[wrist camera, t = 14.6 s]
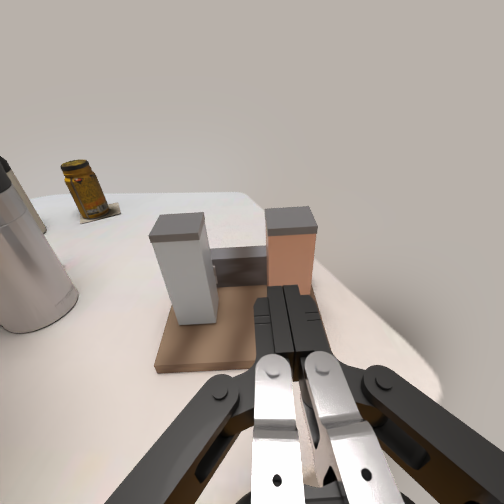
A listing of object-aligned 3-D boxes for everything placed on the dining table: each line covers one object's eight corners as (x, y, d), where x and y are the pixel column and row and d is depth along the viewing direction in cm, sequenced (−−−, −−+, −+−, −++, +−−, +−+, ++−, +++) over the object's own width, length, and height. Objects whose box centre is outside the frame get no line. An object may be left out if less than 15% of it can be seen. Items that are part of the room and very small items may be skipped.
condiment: (80, 211, 64) (56, 161, 57) (118, 203, 67) (99, 154, 60) (80, 224, 59) (54, 170, 52) (121, 214, 62) (101, 162, 54)
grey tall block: (178, 325, 32) (148, 235, 25) (184, 300, 35) (159, 214, 28) (216, 323, 32) (198, 232, 24) (219, 298, 35) (203, 212, 28)
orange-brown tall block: (269, 320, 32) (267, 229, 24) (267, 296, 35) (264, 208, 28) (307, 318, 32) (317, 226, 24) (301, 294, 35) (308, 206, 28)
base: (157, 373, 29) (139, 336, 25) (181, 285, 40) (172, 250, 37) (331, 364, 29) (339, 325, 25) (306, 278, 40) (309, 243, 36)
